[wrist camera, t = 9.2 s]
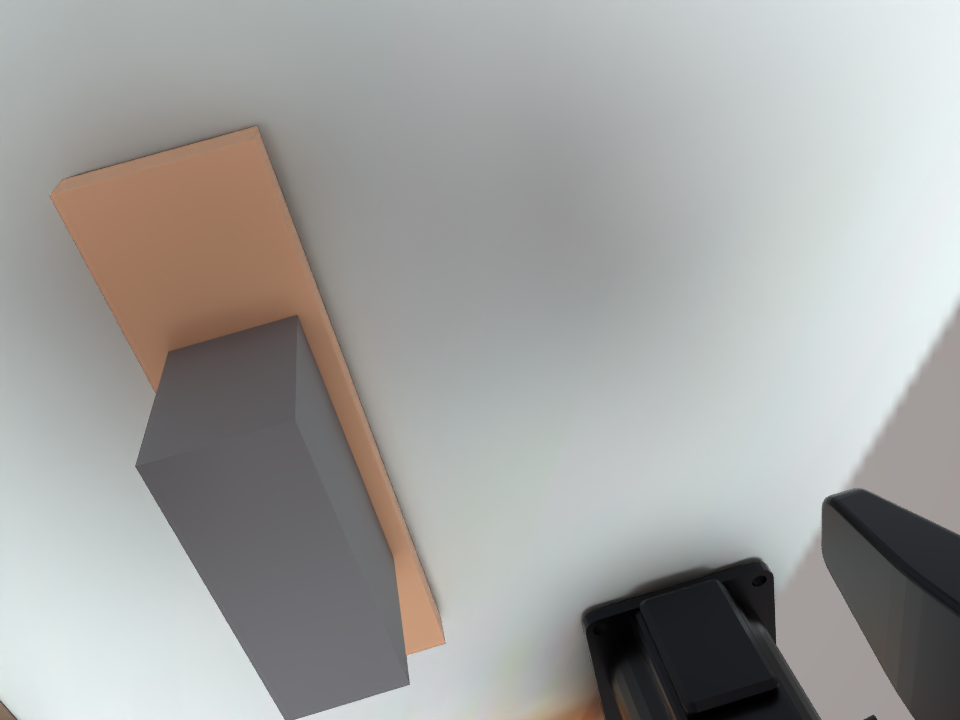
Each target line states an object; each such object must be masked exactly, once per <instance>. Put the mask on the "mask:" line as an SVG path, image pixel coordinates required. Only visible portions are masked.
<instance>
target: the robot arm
mask: <svg viewBox="0 0 960 720" xmlns="http://www.w3.org/2000/svg"><path fill="white" fill-rule="evenodd" d="M821 546H822V554H823V558H824V561H825V564H826V566H827V568H828V570H829V572H830V574H831V576H832V578H833V579H834V581H835V583H836V585H837V587H838V588H839V590H840V592H841V594H842V595H843V597H844V599H845V601H846V603H847V604H848V606H849V608H850V610H851V612H852V614H853V615H854V617H855V619H856V621H857V623H858V624H859V626H860V628H861V630H862V632H863V634H864V635H865V637H866V639H867V641H868V643H869V644H870V646H871V648H872V650H873V652H874V653H875V655H876V657H877V659H878V661H879V663H880V664H881V666H882V668H883V670H884V671H885V673H886V675H887V677H888V678H889V680H890V682H891V683H892V685H893V687H894V688H895V690H896V692H897V694H898V695H899V697H900V698H901V700H902V701H903V703H904V704H905V706H906V707H907V709H908V710H909V712H910V713H911V715H912V716H913V717H914V719H915V720H960V535H958V534H956V533H954V532H952V531H950V530H948V529H946V528H944V527H942V526H940V525H938V524H936V523H934V522H932V521H930V520H928V519H925V518H923V517H921V516H919V515H917V514H915V513H913V512H911V511H908V510H907V509H905V508H902V507H901V506H899V505H897V504H895V503H892V502H890V501H888V500H886V499H884V498H882V497H880V496H878V495H876V494H874V493H872V492H870V491H867V490H865V489H860V488H854V489H850V490H847V491H843V492H840V493H837V494H833V495H830V496H828V497H826V498H825V499H824V501H823V503H822V542H821ZM582 625H583V630H584V634H585V638H586V643H587V647H588V651H589V655H590V660H591V664H592V668H593V673H594V677H595V681H596V686H597V690H598V694H599V698H600V703H601V707H602V711H603V716H604V720H821V718H820V717H819V715H818V713H817V712H816V710H815V708H814V707H813V705H812V703H811V702H810V700H809V698H808V697H807V695H806V694H805V692H804V690H803V688H802V687H801V685H800V684H799V682H798V680H797V679H796V677H795V675H794V674H793V672H792V671H791V669H790V667H789V665H788V664H787V662H786V660H785V659H784V657H783V655H782V654H781V652H780V651H779V649H778V647H777V646H776V628H775V601H774V577H773V574H772V572H771V570H770V569H769V567H768V566H767V564H765V563H764V562H760V561H757V562H752V563H749V564H745V565H742V566H739V567H736V568H732V569H729V570H726V571H722V572H719V573H716V574H712V575H709V576H706V577H703V578H699V579H696V580H693V581H689V582H686V583H683V584H680V585H676V586H673V587H670V588H666V589H663V590H660V591H656V592H653V593H650V594H647V595H643V596H640V597H637V598H633V599H630V600H627V601H623V602H620V603H617V604H614V605H610V606H607V607H604V608H600V609H597V610H594V611H592V612H590V613H588V614H587V615H586V616H585V617H584V619H583V621H582ZM864 720H877V718H876V717H875V716H874V715H872V716H870V717H868V718H866V719H864Z"/></svg>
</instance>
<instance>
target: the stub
mask: <svg viewBox="0 0 960 720" xmlns="http://www.w3.org/2000/svg"><path fill="white" fill-rule="evenodd" d="M50 198H51V200H52V201H53V203H54V205H55V207H56V209H57V211H58V213H59V214H60V216H61V218H62V220H63V222H64V224H65V226H66V227H67V229H68V231H69V233H70V235H71V237H72V239H73V241H74V242H75V244H76V246H77V248H78V250H79V252H80V254H81V255H82V257H83V259H84V261H85V263H86V265H87V267H88V268H89V270H90V272H91V274H92V276H93V278H94V280H95V281H96V283H97V285H98V287H99V289H100V291H101V293H102V294H103V296H104V298H105V300H106V302H107V304H108V306H109V307H110V309H111V311H112V313H113V315H114V317H115V319H116V320H117V322H118V324H119V326H120V328H121V330H122V332H123V333H124V335H125V337H126V339H127V341H128V343H129V345H130V346H131V348H132V350H133V352H134V354H135V356H136V358H137V359H138V361H139V363H140V365H141V367H142V369H143V371H144V372H145V374H146V376H147V378H148V380H149V382H150V384H151V385H152V387H153V389H154V391H155V393H156V396H155V400H154V403H153V407H152V410H151V414H150V417H149V421H148V424H147V427H146V431H145V434H144V438H143V441H142V445H141V448H140V452H139V455H138V459H137V462H136V466H135V467H136V468H137V470H138V472H139V473H140V475H141V477H142V478H143V480H144V482H145V484H146V485H147V487H148V489H149V490H150V492H151V494H152V495H153V497H154V499H155V500H156V502H157V504H158V506H159V507H160V509H161V511H162V512H163V514H164V516H165V517H166V519H167V521H168V523H169V524H170V526H171V528H172V529H173V531H174V533H175V534H176V536H177V538H178V539H179V541H180V543H181V545H182V546H183V548H184V550H185V551H186V553H187V555H188V556H189V558H190V560H191V561H192V563H193V565H194V567H195V568H196V570H197V572H198V573H199V575H200V577H201V578H202V580H203V582H204V583H205V585H206V587H207V589H208V590H209V592H210V594H211V595H212V597H213V599H214V600H215V602H216V604H217V606H218V607H219V609H220V611H221V612H222V614H223V616H224V617H225V619H226V621H227V622H228V624H229V626H230V628H231V629H232V631H233V633H234V634H235V636H236V638H237V639H238V641H239V643H240V644H241V646H242V648H243V650H244V651H245V653H246V655H247V656H248V658H249V660H250V661H251V663H252V665H253V666H254V668H255V670H256V672H257V673H258V675H259V677H260V678H261V680H262V682H263V683H264V685H265V687H266V689H267V690H268V692H269V694H270V695H271V697H272V699H273V700H274V702H275V704H276V705H277V707H278V709H279V711H280V712H281V714H282V716H283V717H284V719H285V720H295V719H298V718H301V717H305V716H308V715H311V714H315V713H318V712H321V711H324V710H328V709H331V708H334V707H338V706H341V705H344V704H347V703H351V702H354V701H357V700H361V699H364V698H367V697H370V696H374V695H377V694H380V693H384V692H387V691H390V690H393V689H397V688H400V687H403V686H407V685H410V682H409V674H408V666H407V658H406V655H409V654H412V653H416V652H419V651H422V650H426V649H429V648H432V647H435V646H439V645H442V644H445V638H444V633H443V627H442V622H441V617H440V615H439V612H438V609H437V606H436V604H435V601H434V598H433V596H432V593H431V590H430V588H429V585H428V582H427V580H426V577H425V574H424V572H423V569H422V566H421V564H420V561H419V558H418V556H417V553H416V550H415V548H414V545H413V542H412V540H411V537H410V534H409V531H408V529H407V526H406V523H405V521H404V518H403V515H402V513H401V510H400V507H399V505H398V502H397V499H396V497H395V494H394V491H393V489H392V486H391V483H390V481H389V478H388V475H387V473H386V470H385V467H384V464H383V462H382V459H381V456H380V454H379V451H378V448H377V446H376V443H375V440H374V438H373V435H372V432H371V430H370V427H369V424H368V422H367V419H366V416H365V414H364V411H363V408H362V406H361V403H360V400H359V398H358V395H357V392H356V389H355V387H354V384H353V381H352V379H351V376H350V373H349V371H348V368H347V365H346V363H345V360H344V357H343V355H342V352H341V349H340V347H339V344H338V341H337V339H336V336H335V333H334V331H333V328H332V325H331V323H330V320H329V317H328V314H327V312H326V309H325V306H324V304H323V301H322V298H321V296H320V293H319V290H318V288H317V285H316V282H315V280H314V277H313V274H312V272H311V269H310V266H309V264H308V261H307V258H306V256H305V253H304V250H303V247H302V245H301V242H300V239H299V237H298V234H297V231H296V229H295V226H294V223H293V221H292V218H291V215H290V213H289V210H288V207H287V205H286V202H285V199H284V197H283V194H282V191H281V189H280V186H279V183H278V181H277V178H276V175H275V172H274V170H273V167H272V164H271V162H270V159H269V156H268V154H267V151H266V148H265V146H264V143H263V140H262V138H261V135H260V132H259V130H258V127H257V126H255V127H251V128H247V129H244V130H240V131H236V132H233V133H229V134H226V135H222V136H218V137H215V138H211V139H208V140H204V141H200V142H197V143H193V144H189V145H186V146H182V147H179V148H175V149H171V150H168V151H164V152H160V153H157V154H153V155H150V156H146V157H142V158H139V159H135V160H132V161H128V162H124V163H121V164H117V165H113V166H110V167H106V168H103V169H99V170H95V171H92V172H88V173H84V174H81V175H77V176H74V177H70V178H66V179H63V180H61V182H60V183H59V184H58V186H57V187H56V188H55V189H54V191H53V192H52V193H51V194H50Z"/></svg>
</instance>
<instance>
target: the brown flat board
mask: <svg viewBox="0 0 960 720" xmlns="http://www.w3.org/2000/svg"><path fill="white" fill-rule="evenodd" d="M0 720H16V719H15V718H14V717H13V716H12V715H11V713H10V712H9V711H8V710H7V709H6V708H5V707H4V706H3V704H2V703H1V702H0Z"/></svg>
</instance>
